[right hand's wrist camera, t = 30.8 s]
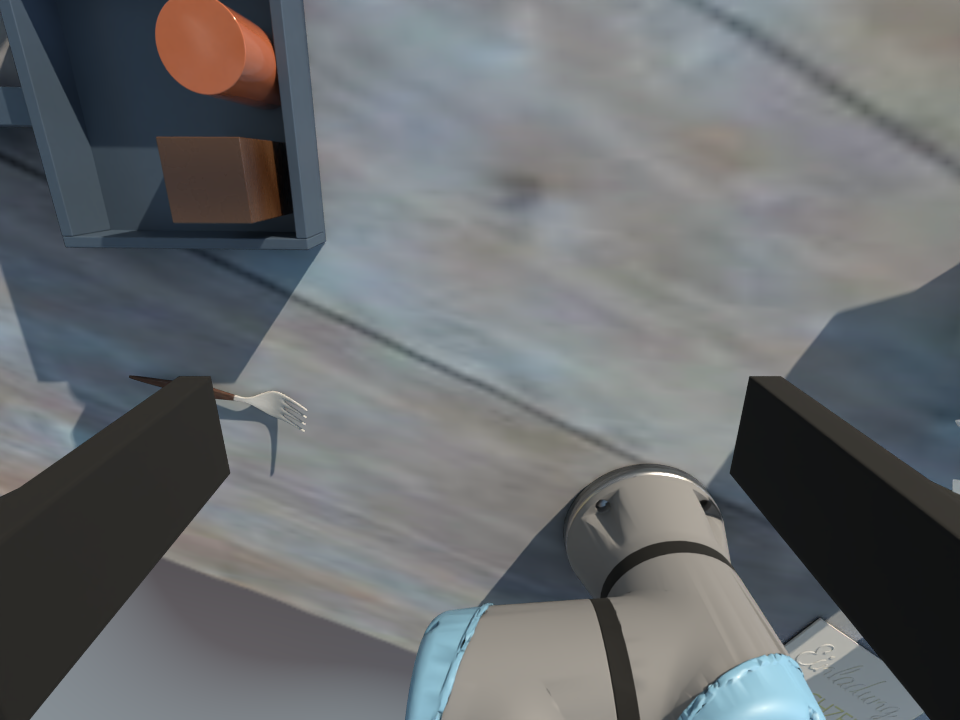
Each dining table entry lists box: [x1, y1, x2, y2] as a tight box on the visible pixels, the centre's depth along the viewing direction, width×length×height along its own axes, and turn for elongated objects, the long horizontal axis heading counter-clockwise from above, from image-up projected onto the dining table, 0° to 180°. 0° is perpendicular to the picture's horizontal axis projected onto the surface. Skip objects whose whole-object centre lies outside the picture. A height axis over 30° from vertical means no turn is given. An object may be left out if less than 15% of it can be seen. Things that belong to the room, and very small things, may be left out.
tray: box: [0, 0, 326, 250], centre depth 33 cm, size 19×32×10 cm, turn 89°
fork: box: [129, 376, 307, 432], centre depth 45 cm, size 3×16×2 cm, turn 77°
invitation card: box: [784, 618, 924, 720], centre depth 60 cm, size 21×1×15 cm
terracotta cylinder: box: [155, 0, 281, 110], centre depth 32 cm, size 5×5×8 cm
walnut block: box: [156, 137, 293, 224], centre depth 35 cm, size 5×5×8 cm
